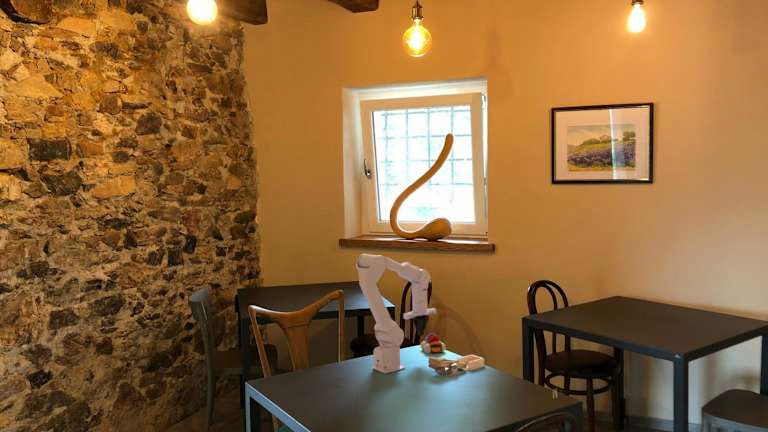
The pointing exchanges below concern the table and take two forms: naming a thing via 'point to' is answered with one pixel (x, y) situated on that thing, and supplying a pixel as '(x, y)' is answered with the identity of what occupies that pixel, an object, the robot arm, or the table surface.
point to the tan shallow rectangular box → (471, 362)
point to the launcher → (444, 363)
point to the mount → (450, 370)
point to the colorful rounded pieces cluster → (432, 344)
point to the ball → (473, 358)
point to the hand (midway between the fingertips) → (420, 334)
